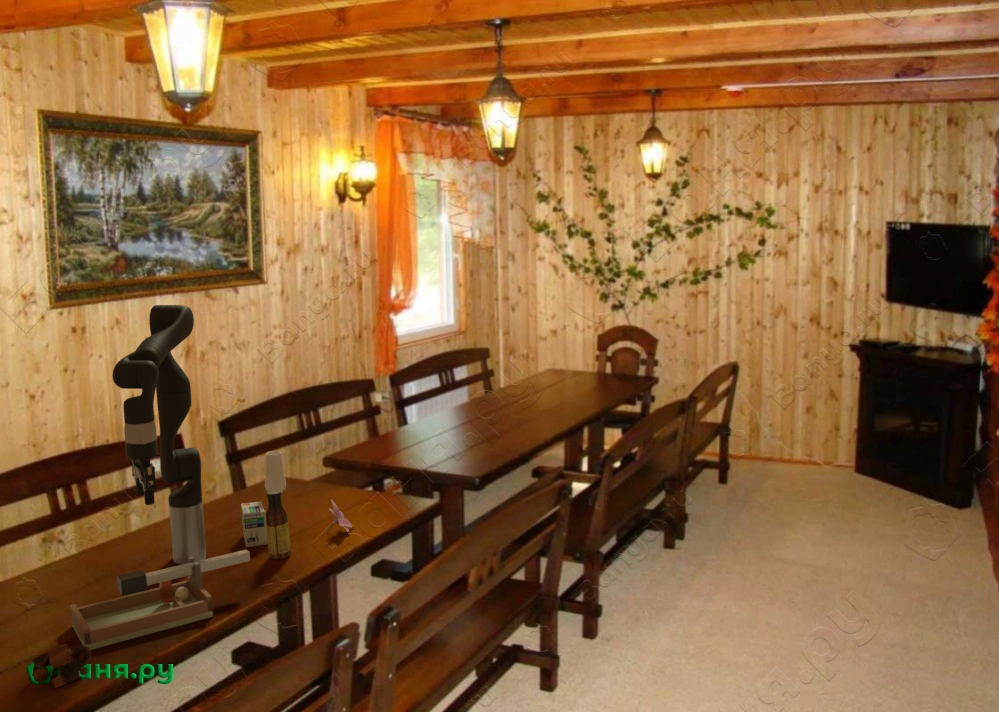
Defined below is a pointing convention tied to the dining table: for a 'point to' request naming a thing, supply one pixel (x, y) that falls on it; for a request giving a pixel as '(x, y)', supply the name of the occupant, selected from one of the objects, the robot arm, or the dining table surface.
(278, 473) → the champagne flute
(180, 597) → the ball
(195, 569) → the wooden tray
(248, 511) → the light bulb box
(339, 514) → the lily
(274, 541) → the sauce bottle
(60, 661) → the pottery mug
